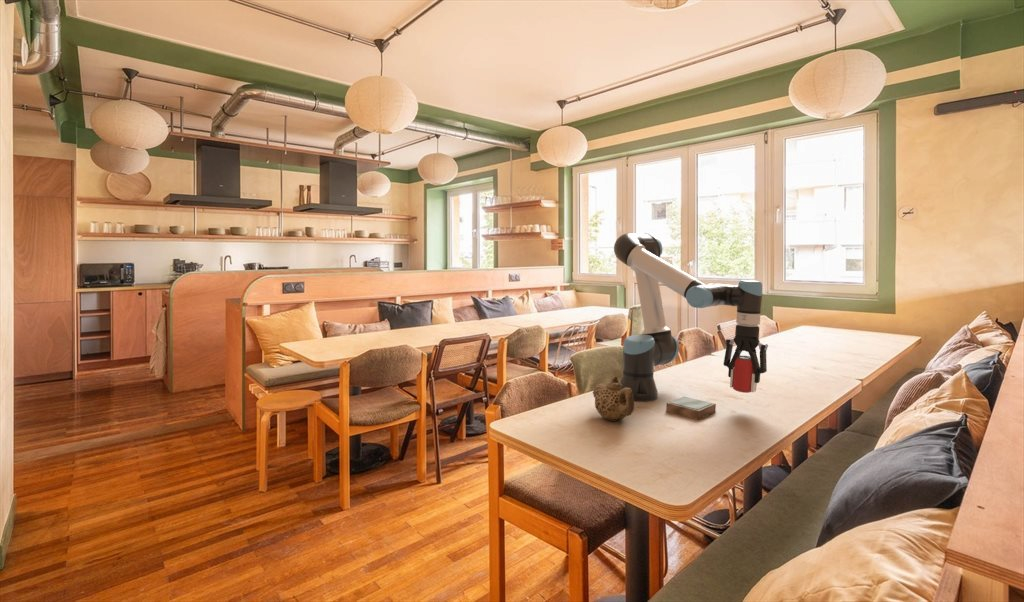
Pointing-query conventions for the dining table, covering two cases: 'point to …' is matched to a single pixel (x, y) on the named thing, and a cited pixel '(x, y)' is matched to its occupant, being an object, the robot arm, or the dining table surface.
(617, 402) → the teapot
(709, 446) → the dining table surface
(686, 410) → the pedestal
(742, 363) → the beer can
